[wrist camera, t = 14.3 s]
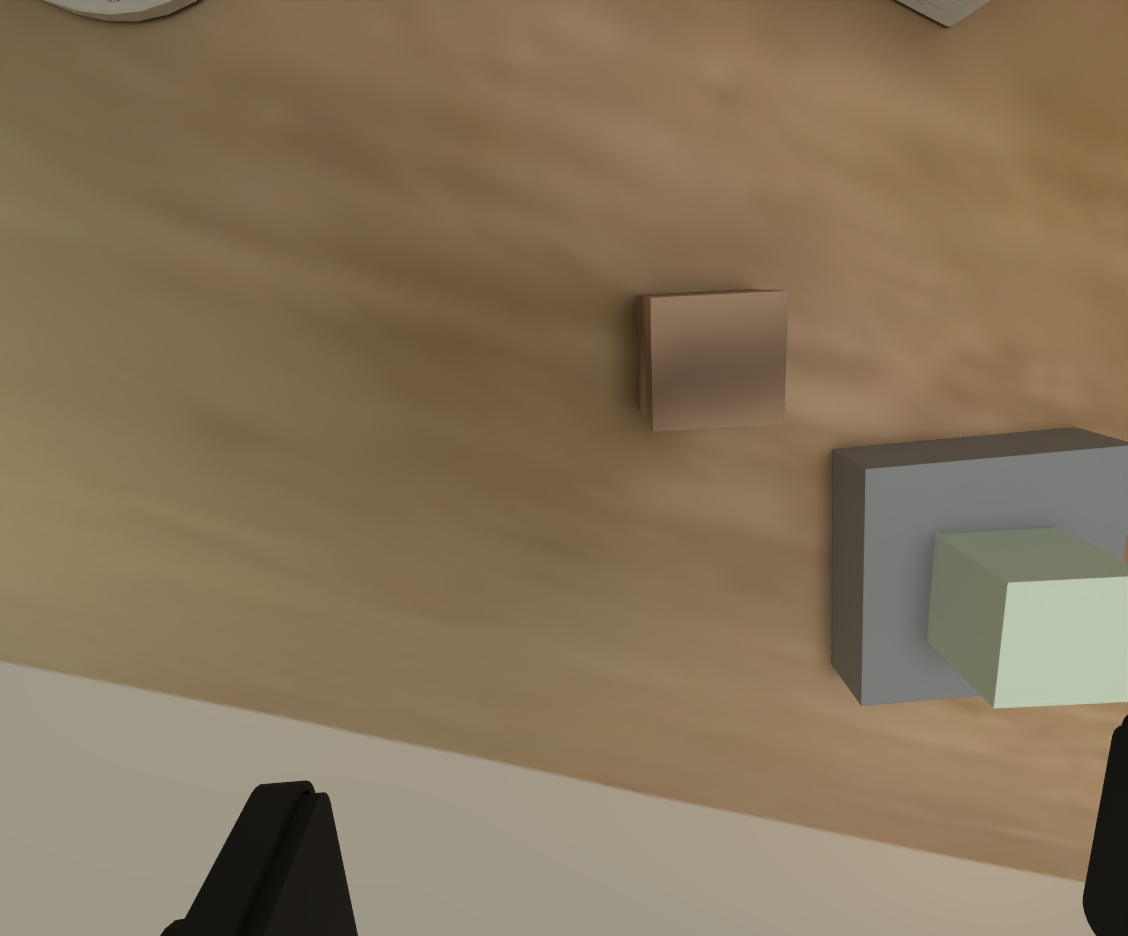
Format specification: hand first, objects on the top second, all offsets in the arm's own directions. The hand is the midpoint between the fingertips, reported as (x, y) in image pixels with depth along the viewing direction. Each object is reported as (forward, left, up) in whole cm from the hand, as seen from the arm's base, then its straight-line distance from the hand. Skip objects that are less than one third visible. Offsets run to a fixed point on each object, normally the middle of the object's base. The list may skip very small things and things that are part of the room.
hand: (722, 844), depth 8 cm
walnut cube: (-3, +4, -25) cm, 25 cm away
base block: (+7, +16, -25) cm, 30 cm away
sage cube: (+7, +16, -21) cm, 27 cm away
